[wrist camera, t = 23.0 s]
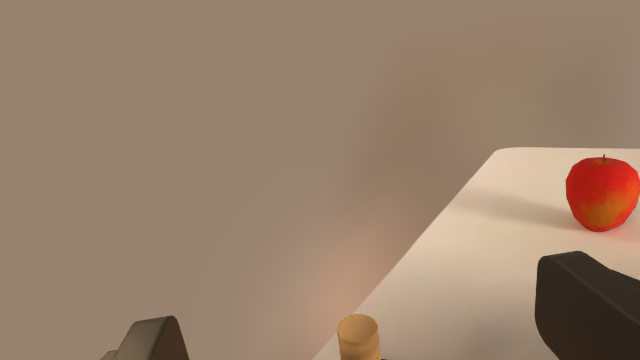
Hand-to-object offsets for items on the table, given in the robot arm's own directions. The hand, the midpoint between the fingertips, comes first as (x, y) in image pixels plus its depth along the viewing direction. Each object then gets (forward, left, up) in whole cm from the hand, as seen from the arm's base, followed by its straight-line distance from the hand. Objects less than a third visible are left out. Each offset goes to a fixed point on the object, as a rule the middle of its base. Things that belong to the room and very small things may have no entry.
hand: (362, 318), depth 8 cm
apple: (+24, +57, -26) cm, 67 cm away
